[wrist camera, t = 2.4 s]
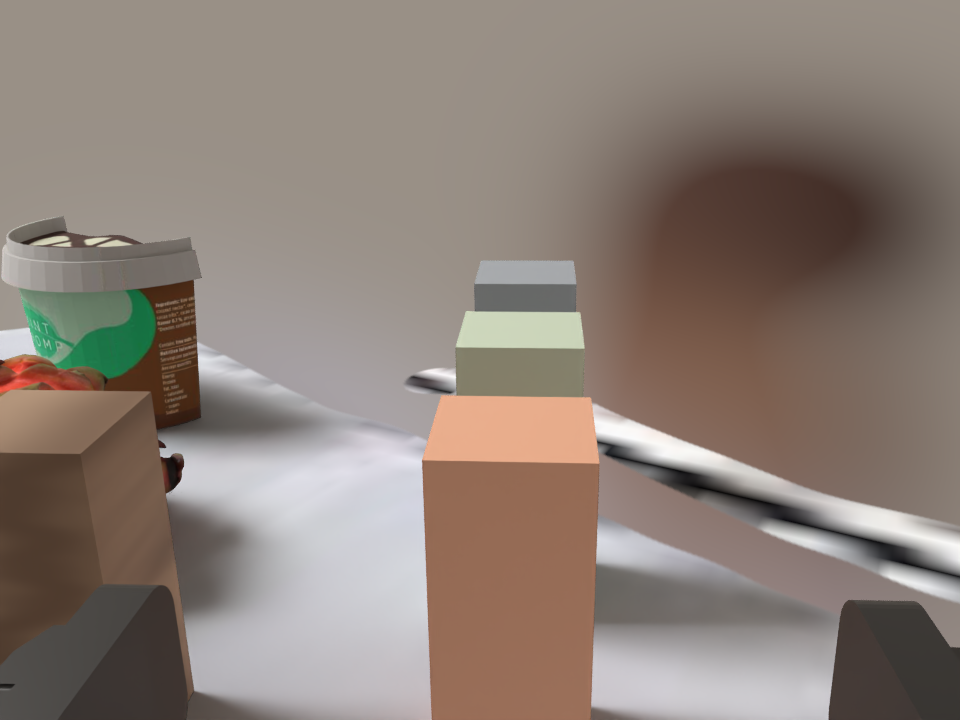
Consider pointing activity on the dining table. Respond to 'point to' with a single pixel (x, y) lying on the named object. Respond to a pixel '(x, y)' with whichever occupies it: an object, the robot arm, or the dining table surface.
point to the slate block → (525, 286)
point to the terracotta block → (511, 557)
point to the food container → (112, 310)
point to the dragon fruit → (46, 376)
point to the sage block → (520, 354)
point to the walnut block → (79, 507)
